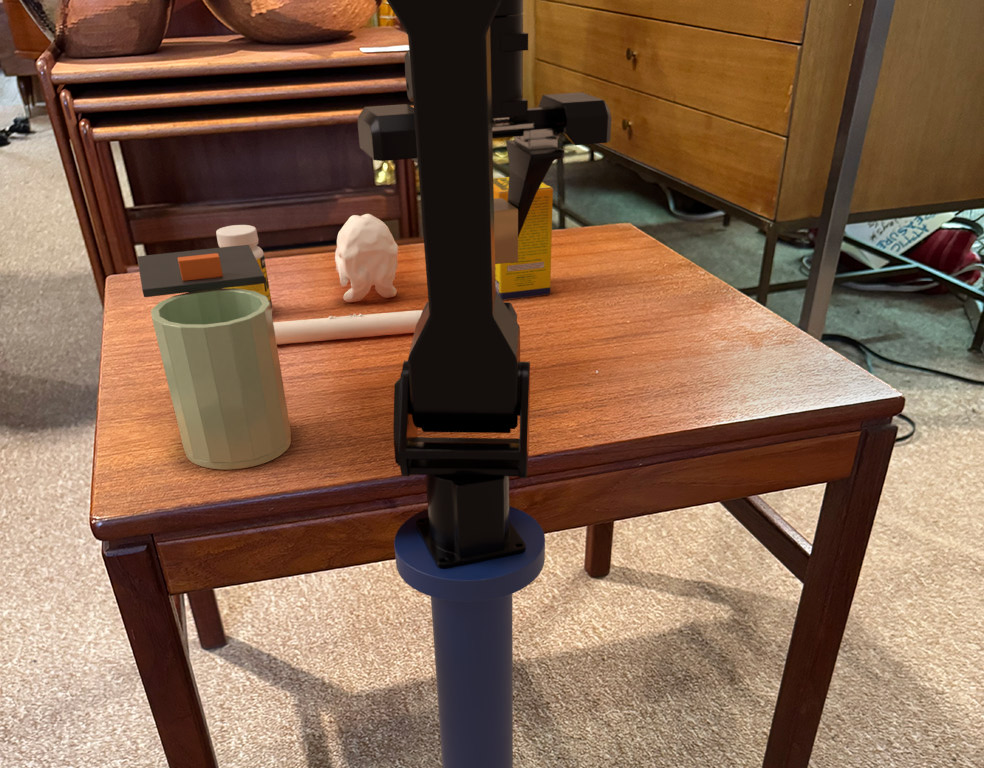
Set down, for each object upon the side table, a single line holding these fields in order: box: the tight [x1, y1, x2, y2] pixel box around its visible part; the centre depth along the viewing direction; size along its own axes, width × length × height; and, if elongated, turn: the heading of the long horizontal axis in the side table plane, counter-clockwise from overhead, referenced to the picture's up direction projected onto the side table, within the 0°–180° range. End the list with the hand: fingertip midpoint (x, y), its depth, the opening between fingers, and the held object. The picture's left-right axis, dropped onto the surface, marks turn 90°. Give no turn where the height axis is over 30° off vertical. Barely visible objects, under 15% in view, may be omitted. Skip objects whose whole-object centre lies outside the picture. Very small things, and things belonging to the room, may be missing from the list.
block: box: [494, 198, 518, 264], centre depth 76 cm, size 4×4×4 cm
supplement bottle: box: [215, 224, 274, 313], centre depth 97 cm, size 5×5×8 cm
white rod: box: [273, 309, 423, 346], centre depth 93 cm, size 18×2×2 cm, turn 101°
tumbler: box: [150, 288, 292, 471], centre depth 72 cm, size 8×8×11 cm
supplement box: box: [493, 176, 554, 301], centre depth 101 cm, size 6×6×11 cm
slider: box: [136, 245, 265, 298], centre depth 73 cm, size 9×9×2 cm
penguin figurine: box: [334, 213, 399, 303], centre depth 102 cm, size 6×8×12 cm
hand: (487, 245), depth 77 cm, fingers closed on block, 4 cm apart
